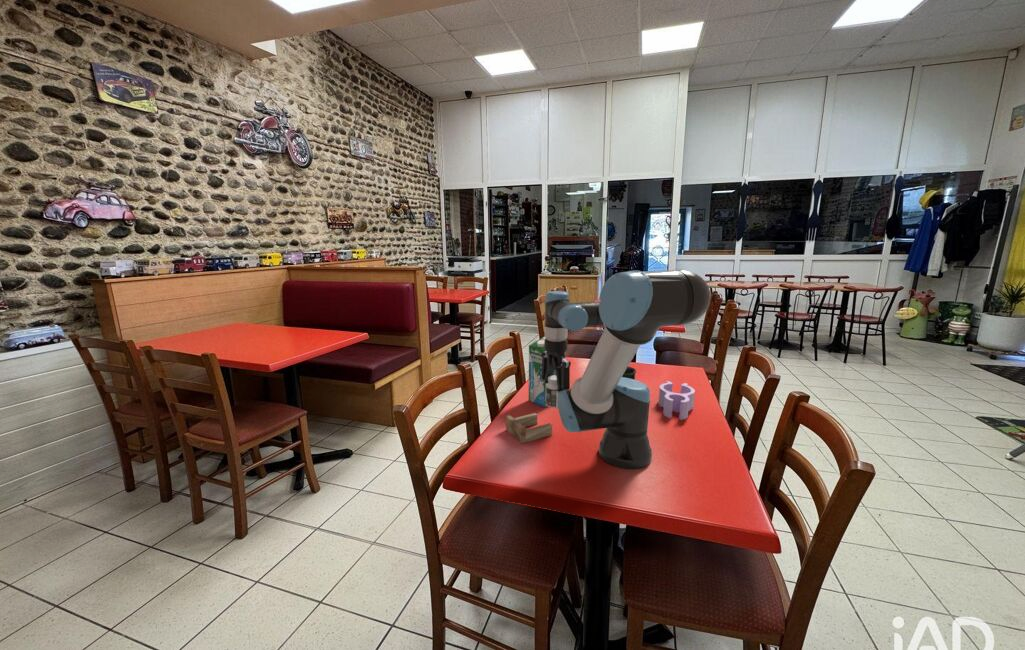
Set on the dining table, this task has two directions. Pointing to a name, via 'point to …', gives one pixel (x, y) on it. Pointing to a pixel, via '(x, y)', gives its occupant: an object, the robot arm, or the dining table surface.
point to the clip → (676, 400)
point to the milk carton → (537, 373)
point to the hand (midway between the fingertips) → (554, 404)
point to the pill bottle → (551, 391)
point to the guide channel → (521, 434)
